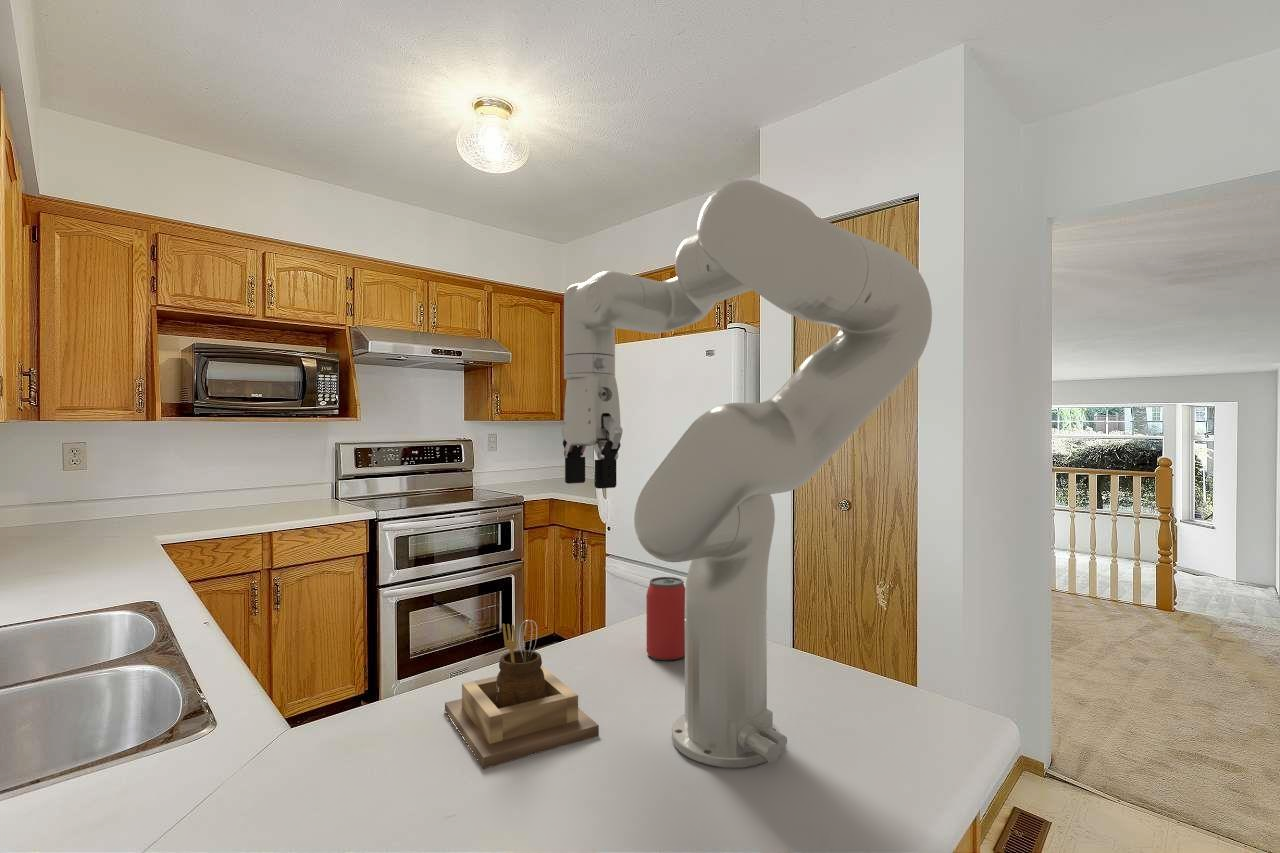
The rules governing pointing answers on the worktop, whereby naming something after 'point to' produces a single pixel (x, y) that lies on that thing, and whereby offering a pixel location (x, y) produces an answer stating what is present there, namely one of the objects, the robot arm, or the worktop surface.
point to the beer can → (666, 618)
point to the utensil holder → (519, 673)
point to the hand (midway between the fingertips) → (589, 485)
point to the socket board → (518, 721)
